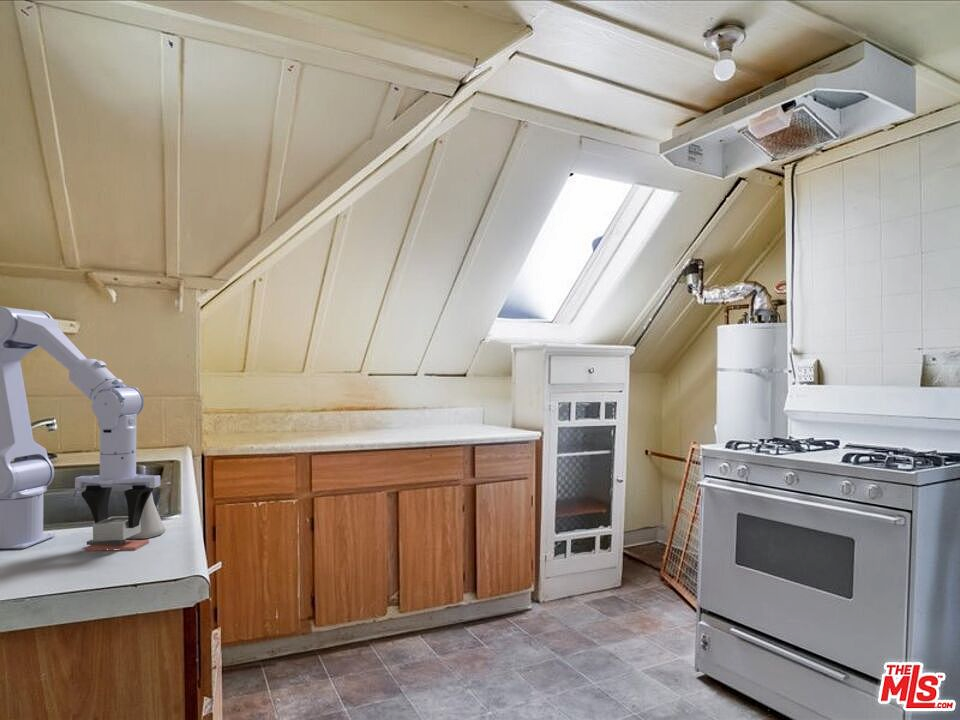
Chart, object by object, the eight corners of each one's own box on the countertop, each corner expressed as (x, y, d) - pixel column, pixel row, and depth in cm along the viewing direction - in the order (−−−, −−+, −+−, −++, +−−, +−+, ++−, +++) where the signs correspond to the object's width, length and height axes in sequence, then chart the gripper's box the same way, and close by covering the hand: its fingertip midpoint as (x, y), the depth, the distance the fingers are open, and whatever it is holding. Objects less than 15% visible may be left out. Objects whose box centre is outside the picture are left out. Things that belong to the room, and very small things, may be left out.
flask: (172, 530, 117) (172, 481, 117) (148, 541, 110) (148, 488, 110) (139, 529, 118) (139, 480, 118) (113, 540, 111) (113, 487, 111)
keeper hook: (80, 550, 104) (80, 524, 104) (96, 543, 109) (96, 517, 109) (135, 550, 104) (135, 523, 105) (149, 542, 109) (149, 517, 109)
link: (93, 540, 104) (92, 523, 104) (112, 532, 109) (111, 516, 109) (123, 539, 104) (123, 523, 104) (140, 531, 109) (140, 515, 109)
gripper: (63, 456, 103) (62, 533, 103) (145, 455, 103) (144, 532, 103) (89, 450, 110) (89, 522, 110) (166, 450, 110) (166, 522, 110)
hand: (117, 526), depth 107 cm, fingers closed on link, 5 cm apart
